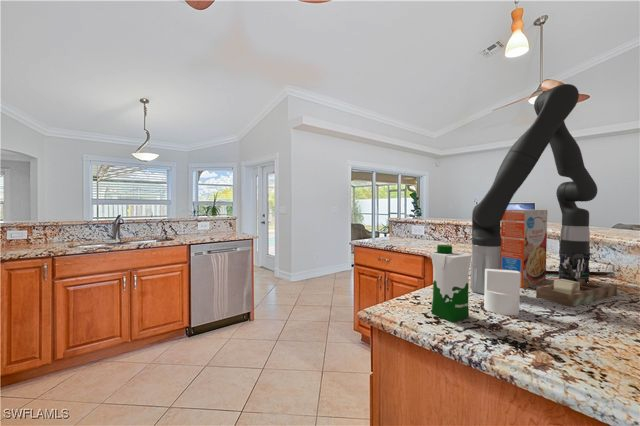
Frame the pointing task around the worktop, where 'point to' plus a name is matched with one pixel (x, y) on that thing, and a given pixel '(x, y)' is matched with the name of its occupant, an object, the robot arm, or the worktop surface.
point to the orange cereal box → (524, 244)
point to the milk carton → (450, 284)
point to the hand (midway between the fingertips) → (573, 288)
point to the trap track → (583, 296)
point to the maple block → (566, 286)
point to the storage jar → (586, 272)
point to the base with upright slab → (502, 291)
